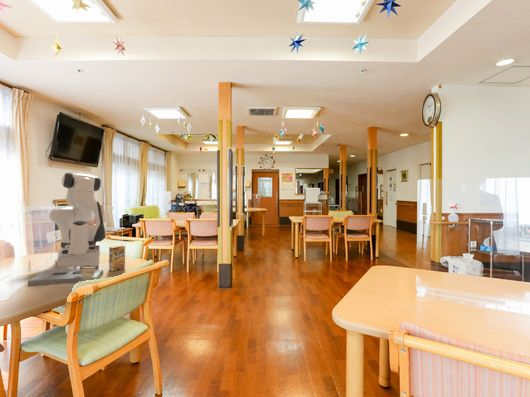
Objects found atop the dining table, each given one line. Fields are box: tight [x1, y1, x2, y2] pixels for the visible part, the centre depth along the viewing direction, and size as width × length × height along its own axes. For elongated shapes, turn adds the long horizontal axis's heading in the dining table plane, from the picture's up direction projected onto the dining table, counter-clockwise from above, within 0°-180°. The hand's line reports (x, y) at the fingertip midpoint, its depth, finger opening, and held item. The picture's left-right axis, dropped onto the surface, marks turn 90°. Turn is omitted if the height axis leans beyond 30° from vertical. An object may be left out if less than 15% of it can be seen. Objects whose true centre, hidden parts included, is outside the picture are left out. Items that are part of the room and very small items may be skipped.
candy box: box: [108, 244, 126, 272], centre depth 182 cm, size 9×4×15 cm, turn 150°
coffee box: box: [79, 244, 100, 270], centre depth 178 cm, size 9×6×16 cm
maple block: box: [82, 267, 95, 277], centre depth 159 cm, size 5×5×4 cm
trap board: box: [27, 269, 104, 286], centre depth 160 cm, size 16×32×2 cm, turn 108°
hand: (78, 273), depth 158 cm, fingers closed
